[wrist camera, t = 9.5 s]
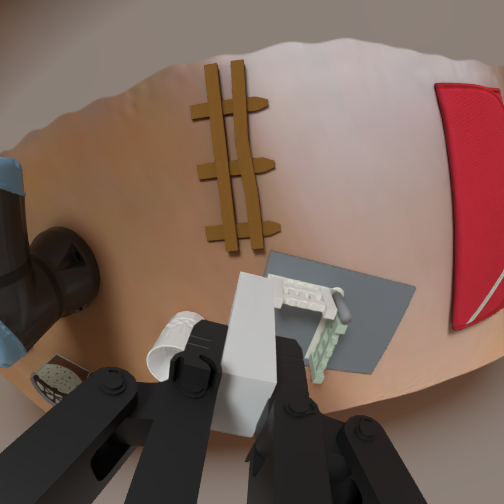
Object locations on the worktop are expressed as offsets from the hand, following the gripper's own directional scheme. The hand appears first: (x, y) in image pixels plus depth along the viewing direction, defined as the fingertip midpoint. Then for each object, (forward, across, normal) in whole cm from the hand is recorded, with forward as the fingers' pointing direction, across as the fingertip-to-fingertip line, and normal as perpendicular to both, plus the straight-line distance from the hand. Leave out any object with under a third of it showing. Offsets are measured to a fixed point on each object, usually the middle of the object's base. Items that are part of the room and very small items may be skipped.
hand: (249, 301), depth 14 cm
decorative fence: (+27, -5, +5) cm, 28 cm away
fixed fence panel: (+26, +8, -10) cm, 29 cm away
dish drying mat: (+27, +36, +10) cm, 46 cm away
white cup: (+27, -6, -22) cm, 35 cm away
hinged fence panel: (+25, +14, -16) cm, 33 cm away
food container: (+27, -31, -44) cm, 60 cm away
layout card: (+26, +15, -15) cm, 34 cm away
